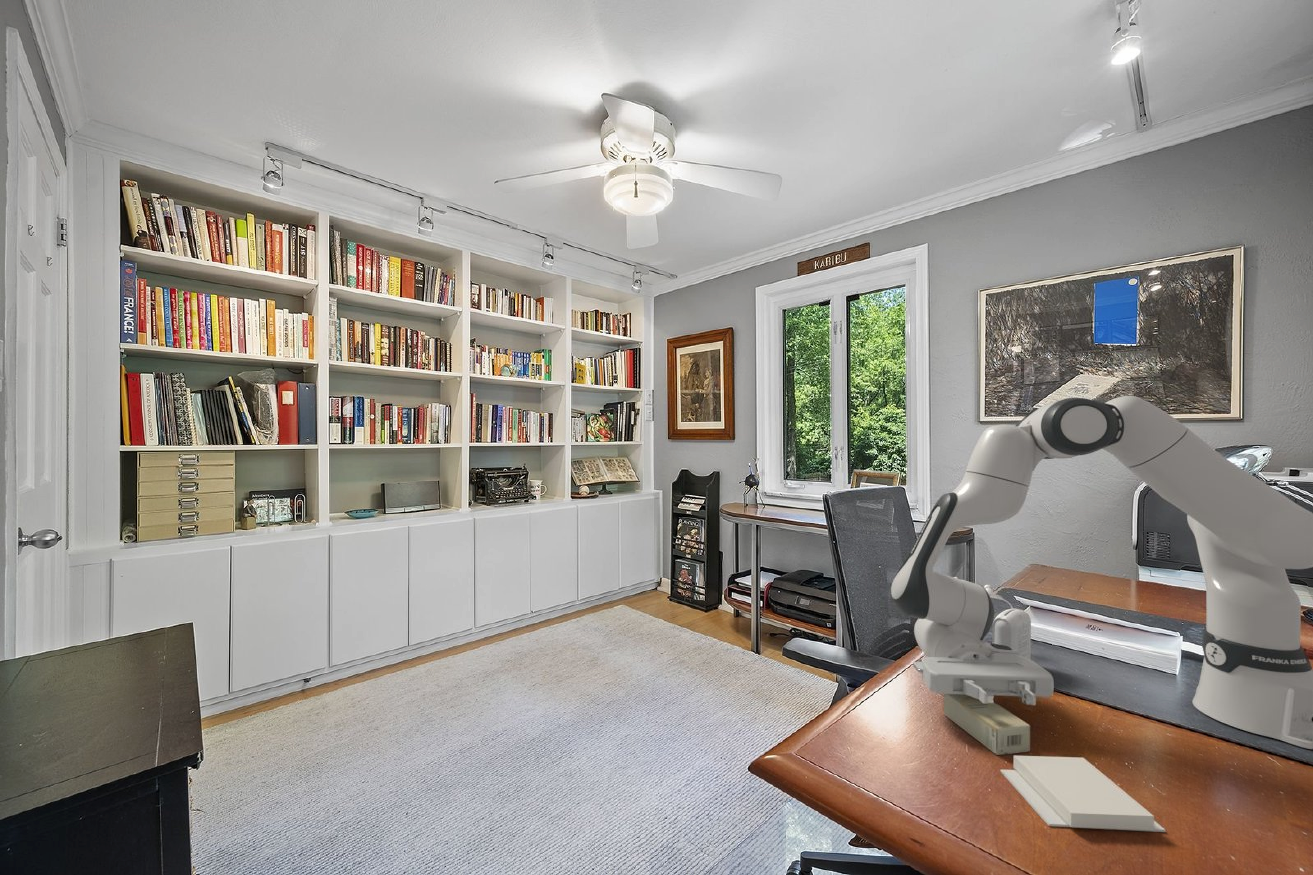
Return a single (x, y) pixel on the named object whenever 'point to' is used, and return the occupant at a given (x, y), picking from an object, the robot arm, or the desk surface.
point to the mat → (1042, 806)
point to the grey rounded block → (1013, 631)
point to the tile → (1082, 793)
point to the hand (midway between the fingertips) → (1010, 700)
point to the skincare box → (988, 724)
